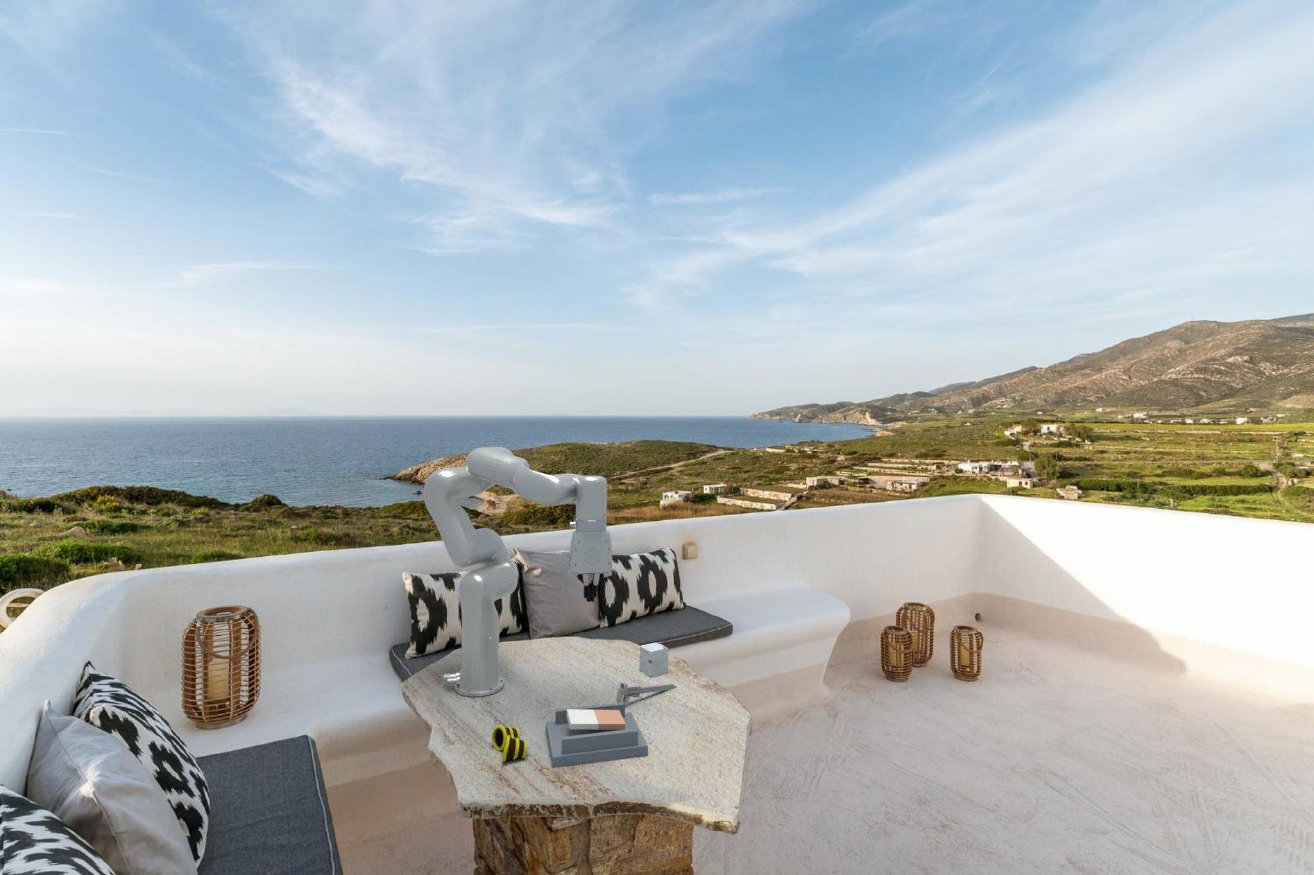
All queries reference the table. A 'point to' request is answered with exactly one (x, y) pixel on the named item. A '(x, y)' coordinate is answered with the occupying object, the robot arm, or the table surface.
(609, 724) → the two-tone peach white tile
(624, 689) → the caliper
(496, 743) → the opera glasses
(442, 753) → the table surface
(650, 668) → the skincare box
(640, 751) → the grey piece
